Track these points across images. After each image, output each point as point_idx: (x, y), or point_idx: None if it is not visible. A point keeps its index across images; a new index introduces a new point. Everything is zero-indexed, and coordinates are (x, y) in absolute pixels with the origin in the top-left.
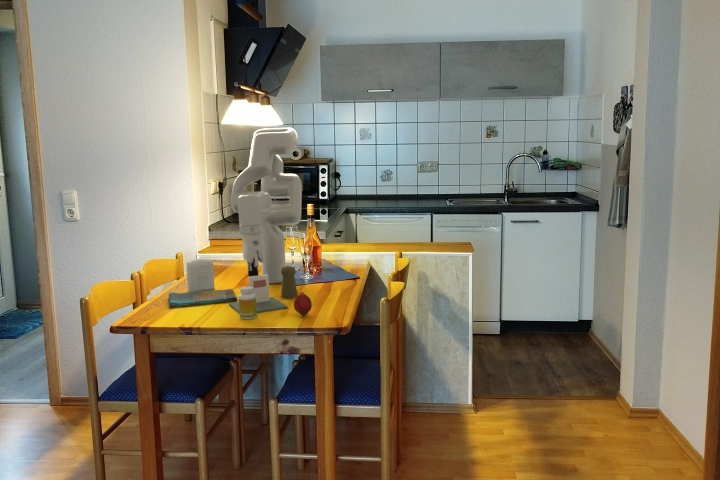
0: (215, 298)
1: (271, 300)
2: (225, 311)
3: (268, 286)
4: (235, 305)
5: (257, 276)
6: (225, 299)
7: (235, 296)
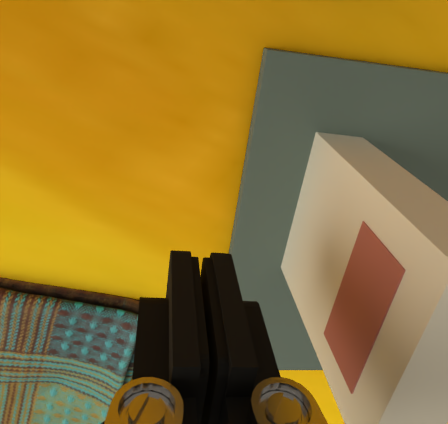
0: (22, 400)
1: (364, 120)
2: (322, 398)
3: (432, 197)
4: (289, 354)
5: (445, 390)
6: (124, 376)
7: (84, 313)
